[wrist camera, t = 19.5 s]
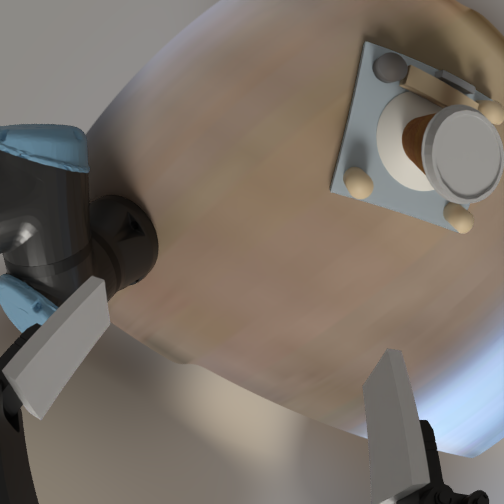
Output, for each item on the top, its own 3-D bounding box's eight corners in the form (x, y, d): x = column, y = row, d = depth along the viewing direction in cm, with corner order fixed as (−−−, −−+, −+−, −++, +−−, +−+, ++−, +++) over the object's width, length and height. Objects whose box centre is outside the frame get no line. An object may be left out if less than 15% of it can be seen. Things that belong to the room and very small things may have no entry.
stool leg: (369, 76, 28) (375, 73, 25) (376, 52, 27) (382, 47, 24) (462, 123, 28) (474, 125, 25) (468, 101, 26) (481, 101, 23)
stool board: (329, 189, 37) (333, 201, 32) (363, 43, 28) (372, 33, 23) (454, 228, 36) (470, 245, 31) (490, 102, 27) (512, 104, 22)
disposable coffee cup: (417, 88, 28) (463, 82, 17) (466, 141, 29) (520, 158, 18) (374, 144, 32) (406, 160, 21) (426, 193, 33) (469, 228, 22)
